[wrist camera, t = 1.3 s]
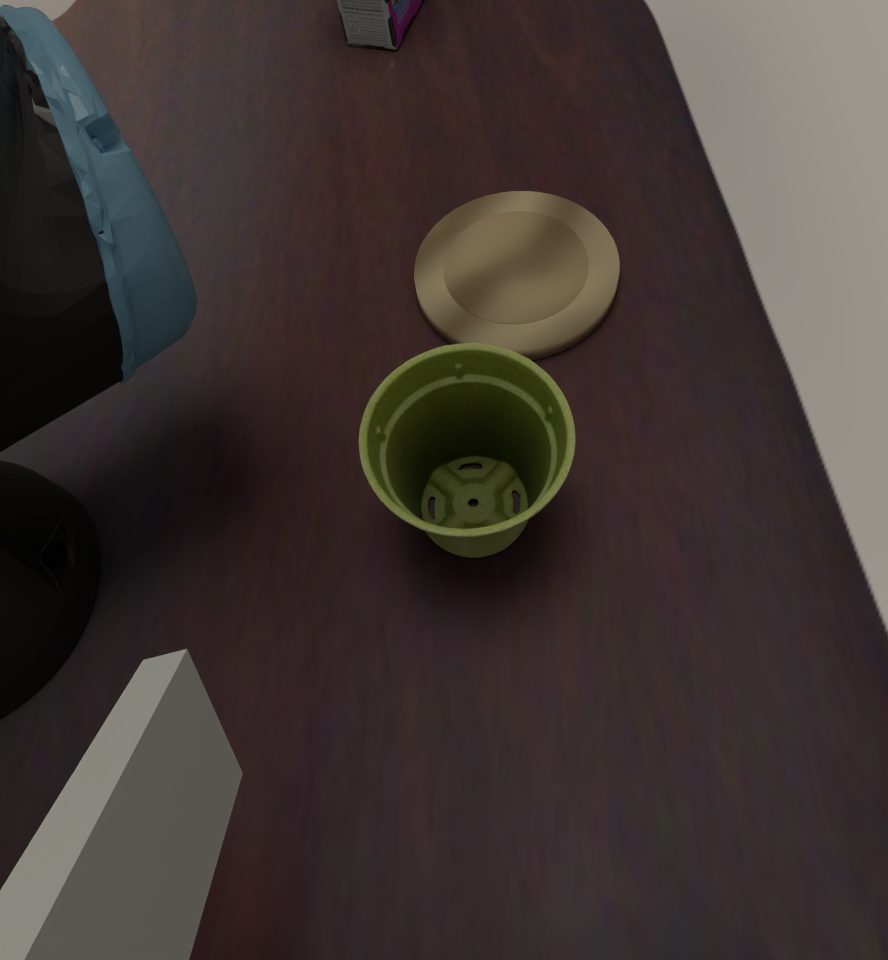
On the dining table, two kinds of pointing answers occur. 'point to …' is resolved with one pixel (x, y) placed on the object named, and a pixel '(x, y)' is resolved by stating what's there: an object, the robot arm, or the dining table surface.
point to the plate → (517, 273)
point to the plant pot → (467, 444)
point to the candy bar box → (377, 21)
